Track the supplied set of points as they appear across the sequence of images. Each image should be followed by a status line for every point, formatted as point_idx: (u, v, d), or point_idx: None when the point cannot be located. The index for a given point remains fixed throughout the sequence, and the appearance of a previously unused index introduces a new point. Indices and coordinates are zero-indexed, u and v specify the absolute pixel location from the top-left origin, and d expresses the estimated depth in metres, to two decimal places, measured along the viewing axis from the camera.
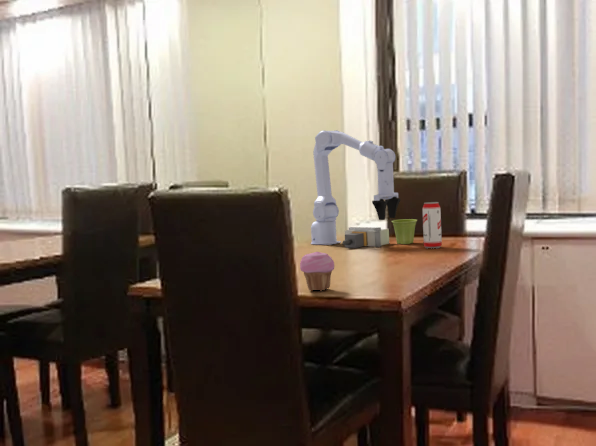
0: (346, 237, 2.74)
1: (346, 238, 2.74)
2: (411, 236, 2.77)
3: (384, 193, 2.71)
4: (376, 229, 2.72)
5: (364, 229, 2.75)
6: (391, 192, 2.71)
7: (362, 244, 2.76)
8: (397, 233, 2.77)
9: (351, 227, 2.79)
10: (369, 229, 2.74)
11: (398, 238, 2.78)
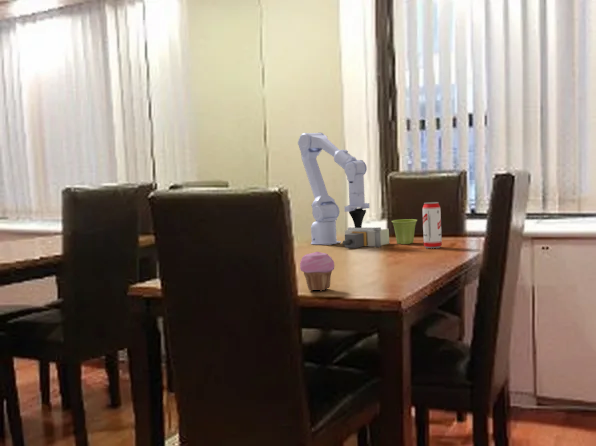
0: (346, 237, 2.74)
1: (346, 238, 2.74)
2: (411, 236, 2.77)
3: (355, 204, 2.75)
4: (376, 229, 2.72)
5: (364, 229, 2.75)
6: (362, 203, 2.75)
7: (362, 244, 2.76)
8: (397, 233, 2.77)
9: (350, 227, 2.79)
10: (369, 229, 2.74)
11: (398, 238, 2.78)
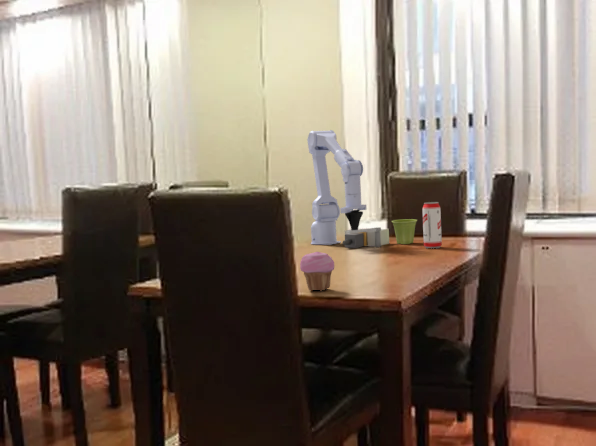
0: (346, 237, 2.74)
1: (346, 238, 2.74)
2: (411, 236, 2.77)
3: (351, 205, 2.68)
4: (379, 229, 2.72)
5: (366, 230, 2.70)
6: (358, 204, 2.68)
7: (362, 244, 2.76)
8: (397, 233, 2.77)
9: (351, 230, 2.68)
10: (371, 230, 2.71)
11: (398, 238, 2.78)
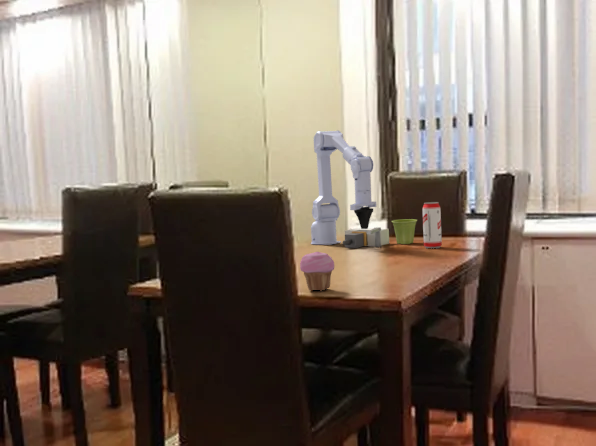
0: (346, 237, 2.74)
1: (346, 238, 2.74)
2: (411, 236, 2.77)
3: (361, 202, 2.63)
4: (380, 228, 2.73)
5: (376, 230, 2.68)
6: (368, 201, 2.63)
7: (362, 244, 2.76)
8: (397, 233, 2.77)
9: (370, 231, 2.63)
10: (377, 230, 2.70)
11: (398, 238, 2.78)
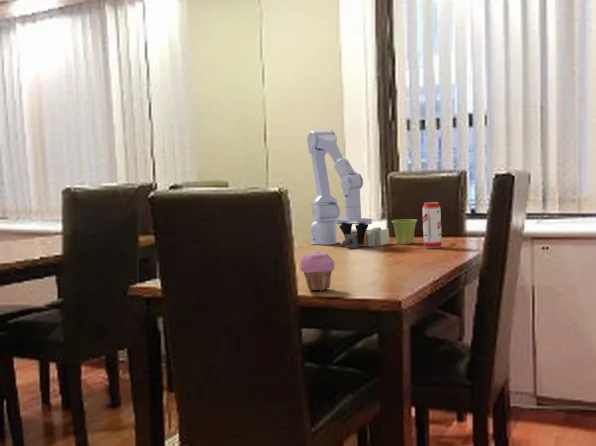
0: (346, 237, 2.74)
1: (346, 238, 2.74)
2: (411, 236, 2.77)
3: None
4: (380, 228, 2.73)
5: (376, 230, 2.68)
6: (347, 217, 2.73)
7: (362, 244, 2.76)
8: (397, 233, 2.77)
9: (370, 231, 2.63)
10: (377, 230, 2.70)
11: (398, 238, 2.78)
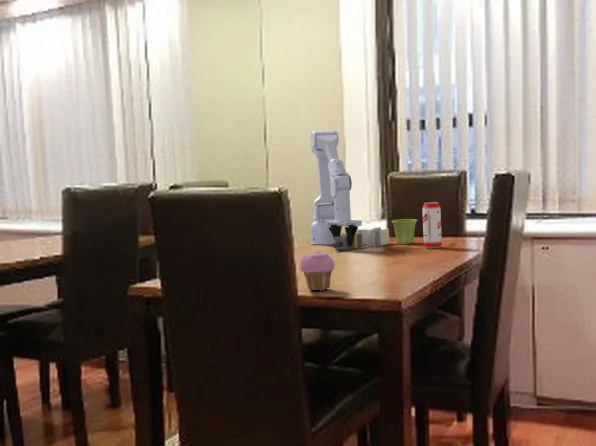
0: (336, 239, 2.69)
1: (336, 240, 2.69)
2: (411, 236, 2.77)
3: None
4: (380, 228, 2.73)
5: (376, 230, 2.68)
6: (337, 219, 2.68)
7: (352, 246, 2.70)
8: (397, 233, 2.77)
9: (370, 231, 2.63)
10: (377, 230, 2.70)
11: (398, 238, 2.78)
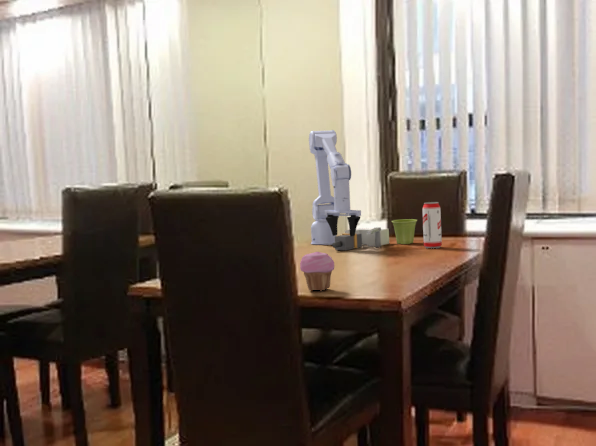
0: (336, 239, 2.69)
1: (336, 240, 2.69)
2: (411, 236, 2.77)
3: None
4: (380, 228, 2.73)
5: (376, 230, 2.68)
6: (336, 209, 2.67)
7: (352, 246, 2.70)
8: (397, 233, 2.77)
9: (370, 231, 2.63)
10: (377, 230, 2.70)
11: (398, 238, 2.78)
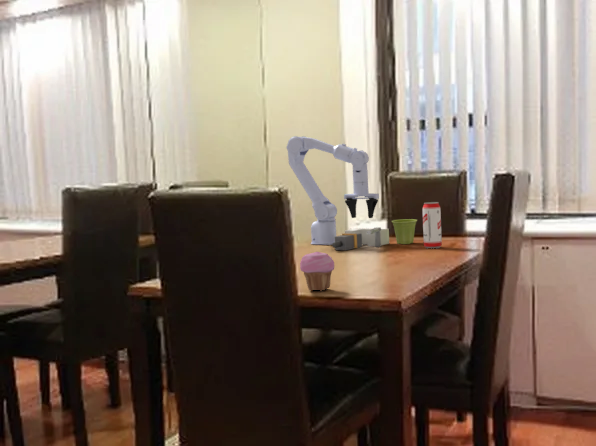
0: (336, 239, 2.69)
1: (336, 240, 2.69)
2: (411, 236, 2.77)
3: None
4: (380, 228, 2.73)
5: (376, 230, 2.68)
6: (355, 192, 2.83)
7: (352, 246, 2.70)
8: (397, 233, 2.77)
9: (370, 231, 2.63)
10: (377, 230, 2.70)
11: (398, 238, 2.78)
